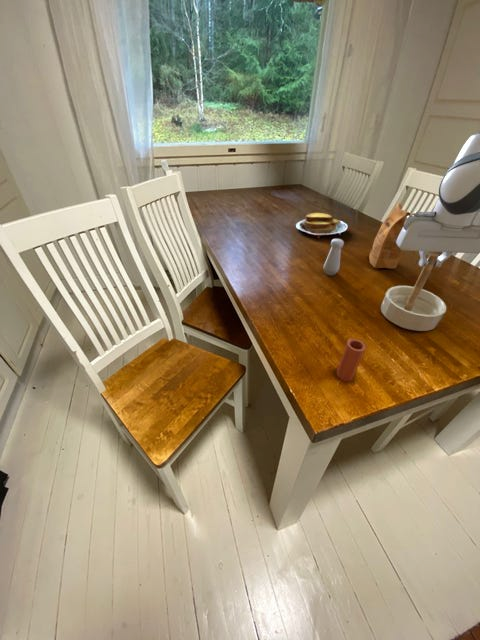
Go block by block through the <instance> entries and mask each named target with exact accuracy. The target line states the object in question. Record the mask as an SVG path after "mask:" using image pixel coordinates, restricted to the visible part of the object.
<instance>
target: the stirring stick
mask: <svg viewBox="0 0 480 640" xmlns="http://www.w3.org/2000/svg"><path fill="white" fill-rule="evenodd" d="M427 256H428V257H427V259H428V260H429V263H428V265H427V267H424V266H422V270H421V271H420V274H419V275H418V278H417V279H416V282H415V284H414V286H413V287H414V288H413V290H412V292H411V294H410V296H409V299H408V301H407V303H406V305H405V307H404V309H405V310H407V311H410V312H411V310H412V308H413V306H414V304H415V302H416V300H417V298H418V296H419V294H420V292H421V290H422V289H423V288H424V286H425V284H426V282H427V280H428V278H429V275H430V274H431V272H432V269H433V268H434V267H433V266H434V264H435V262H436V260H437V258H438V257H439V254H437V253H436V252H429V254H428V255H427Z"/></svg>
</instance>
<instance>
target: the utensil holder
mask: <svg viewBox="0 0 480 640" xmlns="http://www.w3.org/2000/svg"><path fill="white" fill-rule="evenodd" d="M366 349H367V346H366V343H364V342H363V341H362V340H360V339H357V338H351V339H348V340H347V342H346V344H345V347H344V349H343V352H342V354H341V355H342V356H341V359H340V362H339V363H338V367H337V370H336V376H337V378H338V379H340V380H341V381H343V382H351V381H353V379H354V378H355V375H356V373H357V371H358V368H359V365H360V364H361V361H362V358H363V356H364V354H365V351H366Z"/></svg>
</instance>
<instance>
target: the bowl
mask: <svg viewBox="0 0 480 640" xmlns="http://www.w3.org/2000/svg"><path fill="white" fill-rule="evenodd" d="M413 288H414V286H411V285H396V286H392V287H390V288H388V289H387V291H386V292H385V294H384V298H383V300H382V302H381V305H380V312H381V314H383V316H384V317H385V318H386V319H387V320H388V321H389V322H390V323H393V324H394V325H396V326H398V327H400V328H403V329H406V330H410V331H417V332H428V331H431V330H434V329H435V328H436V327H438V325H439V324H440V322H441V320H442V319H443V318H444V315H445V314H446V312H447V305H446V303H445V302H444V300H443V299H442V298H441V297H439V296H438V295H435V294H434V293H433V292H430V291H428V290H426V289H423V288H422V290H421V292H420V294H419V296H418V298H417V300H416V302H415V304H414V306H413V308H412V310H411V312H410V311H407V310H405V309H404V307H405V305H406V303H407V301H408V299H409V296H410V294H411V292H412V290H413Z"/></svg>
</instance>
